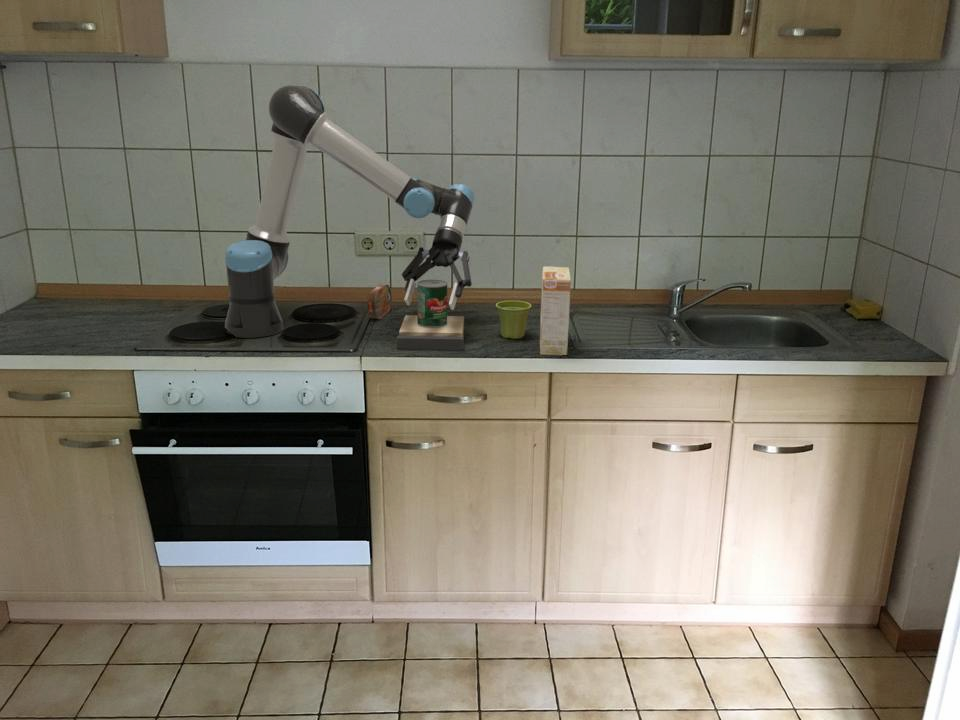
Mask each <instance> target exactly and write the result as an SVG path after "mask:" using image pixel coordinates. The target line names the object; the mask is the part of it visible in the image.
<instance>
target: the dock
mask: <svg viewBox="0 0 960 720" xmlns="http://www.w3.org/2000/svg"><path fill="white" fill-rule="evenodd" d="M417 316H418V314H415V315H411V314H410V315H409V314H405V315H404V318H403V322H402V323H401V326H400V328H399V332H398V335H397V337H396V349H397V350H409V351H410V350H412V351H425V350H426V351H457V350H460V351H464V331H465V316H463V315H462V316H461V315H460V316H459V315H447V325H446V326H443V327H438V328H426V327H421V326H419V325H418V324H417V322H418V317H417Z"/></svg>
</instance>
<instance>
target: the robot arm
mask: <svg viewBox="0 0 960 720" xmlns="http://www.w3.org/2000/svg"><path fill="white" fill-rule="evenodd" d="M268 112H269V113H268V114H269V116H270V119H271V120H272V125H271V130H270V132H271V134H272V136H273V137H274V144H273V148H272V151H271V156H270V161H269V165H268V168H267V172H266V173H267V174H266V177H265V182H264V185H263V189H262V190H263V191H262V194H261V198H260V204H259V208H258V212H257V215H256V220H255V224H254V225H252V226H250V227H248V229H247V232H246V233H247V234H246V236H245V240H241V241H238V242H233V243H232V244H230V245H228V246H227V248H226V250H225V256H224V257H225V258H224V262H225V266H226V277H227V288H228V297H229V298H228V299H229V306H228V310H227V314H226V318H225V322H224V329H225V328H226V329H227V330H228V331H229V332H231V333H232V334H233V335H234V336H235V337H234V338H245V339H253V338H263V337H270V336H274V335H277V334H279V333H282V332H283V330H284V321H283V318H282V315H281V313H280V311H279V308H278V306H277V303H276V298H275V286H274V280H275V279H276V278H278V277H280V276H281V275H282V274H283V273H284V272H285V270H286V268H287V266H288V263H289V247H290V243H291V238H290V236H289V235H288V228H289V224H290V219H291V215H292V212H293V208H294V203H295V201H296V196H297V192H298V187H299V184H300V179H301V175H302V171H303V167H304V164H305V159H306V155H307V151H308V149H309V148H311V147H315V148H316V149H318V150H319V151H320V152H322V153H323V154H325V155H326V156H327V157H329V158H331V159H332V160H333V161H335V162H337V164H339V165H341V166H342V167H343V168H346V169H347V170H348V171H350V172H351V173H352V174H354V175H355V176H357V177H358V178H359V179H362V181H364V182H366V183H367V184H368V185H370V186H372V187H373V188H375V190H377V191H379V192H380V193H381V194H383V195H384V196H386V197H387V198H389V200H392V201H393V202H395V203H396V204H397V205H399V206H400V207H401V208H402V209H404V211H405V212H406V213H407V214H408V215H409V217H411V218H414V219H423V218H425V217H427V216H428V215H430V214H434V215H436V216H439V217H440V218H439V221H438V223H437V226H436V232H435V234H434V237H433V240H432V243H431V247H430V249H425V248H424V247H423V246H421V247H419V248H418V250H417V254H416V255H415V256H414V258H413V259H412V260H411V261H410V262H409V264H408V265H407V266H406V268H405V269H404V270H403V272H401V276H402V279H403V280H404V282H405V281H406V283H405V285H404V291H405V292H406V293H405V296H404V302H405V304H406V306H411V303H412V299H413V296H414V292H415V290H416V287H417V282H416V281H418V280H419V279H420V278H421V277H422V276H423V275H425V274H426V273H427V272H428V271H430V269H433V268H435V267H443V268H448V267H450V269H451V271H452V274H453V275H454V277H455V279H456V281H457V282H454V284H453V287H452V291H451V294H450V297H449V301H448V305H449V309H450V310H452V311H453V310H455V308H456V303H457V301H458V298H459V299H460V298H461V297H462V294H463V290H464V288H465V287H472V279H471V273H470V272H471V271H470V266H469V262H470V255H469V253H468V250H464V251H463V252H461V251H460V250H461V246H462V243H463V239H464V237H465V233H466V229H467V226H468V223H469V219H470V215H471V213H472V210H473V207H474V200H475V193H474V191H473V190H472V188H471V187H470V186H468V185H465V184H463V183H459V184H458V183H455V184H452V185H450V186H449V188H445V187H441V186H438V185H435V184H432V183H429V182H426V181H424V180H421V179H419V178H414V177H411V176H410V175H408V174H407V173H405V172H404V171H402V170H401V169H399V168H398V167H397V166H395V165H394V164H392V163H391V162H390V161H388V160H387V159H385V158H383V157H382V156H381V155H379V153H377V152H376V151H374V150H372V149H371V148H370V147H368V145H365V144H364V143H363V142H361V141H360V140H358V139H357V138H355V137H354V136H353V135H352V134H351V133H348V132H347V131H345V129H343V128H341V127H340V126H339V125H336V123H334V122H333V121H332V120H330V119H329V118H328V115H327V112H326V109H325V104H324V101H323V99H322V98H321V96H320V95H319V94H318V93H317V92H316V91H315V90H313V89H312V88H310V87H307V86H305V85H290V84H289V85H284V86H281V87H279V88H278V89H277V90H276V91H275V92H274V93H273V94H272V95H271V97H270V100H269V104H268ZM424 259H425V260H424ZM458 259H460V261H461V262H462V269H463V275H464V279H462V276H461V274H460V272H459V270H458V269H457V268H458V267H456V264H455V262H456V261H457V260H458ZM423 261H424V262H423Z"/></svg>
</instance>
